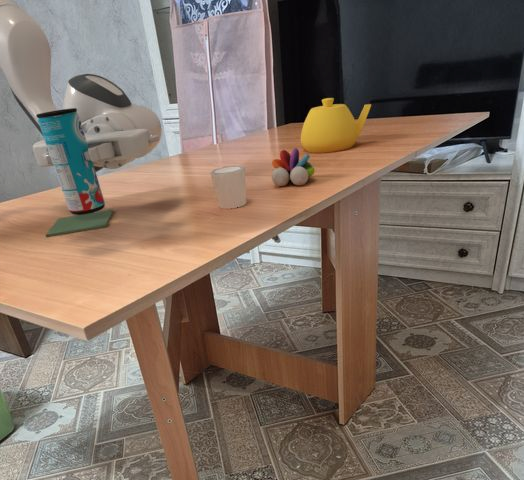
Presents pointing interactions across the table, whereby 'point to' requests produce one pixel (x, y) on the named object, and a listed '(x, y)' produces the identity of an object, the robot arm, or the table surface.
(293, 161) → the rainbow petal toy
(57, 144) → the beverage can
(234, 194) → the white cup
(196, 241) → the table surface
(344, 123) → the teapot
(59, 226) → the mat
